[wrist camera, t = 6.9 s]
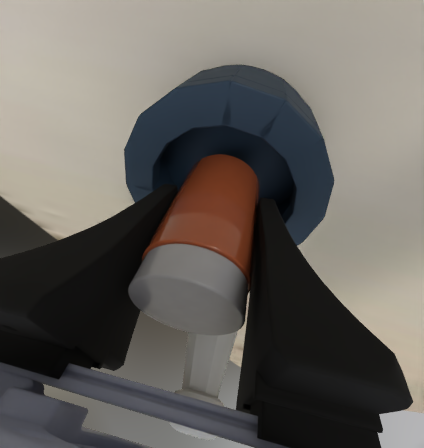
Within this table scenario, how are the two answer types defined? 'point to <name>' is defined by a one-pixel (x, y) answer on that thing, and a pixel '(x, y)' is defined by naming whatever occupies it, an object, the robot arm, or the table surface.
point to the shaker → (202, 251)
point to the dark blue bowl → (236, 140)
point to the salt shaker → (204, 372)
